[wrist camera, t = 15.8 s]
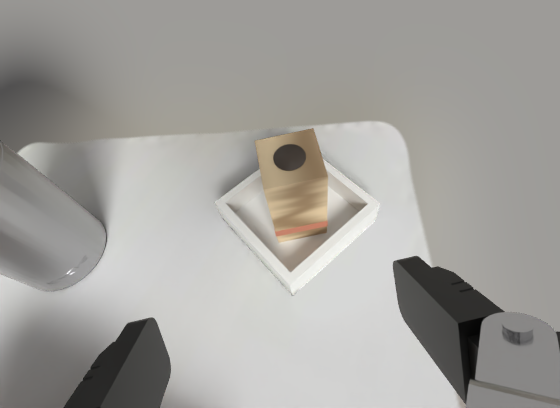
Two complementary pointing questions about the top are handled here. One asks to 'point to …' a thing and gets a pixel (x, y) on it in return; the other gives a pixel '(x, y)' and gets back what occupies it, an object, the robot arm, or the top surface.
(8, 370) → the top surface
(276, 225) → the oak block
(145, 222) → the top surface
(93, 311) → the top surface
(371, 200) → the white tray
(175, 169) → the top surface
